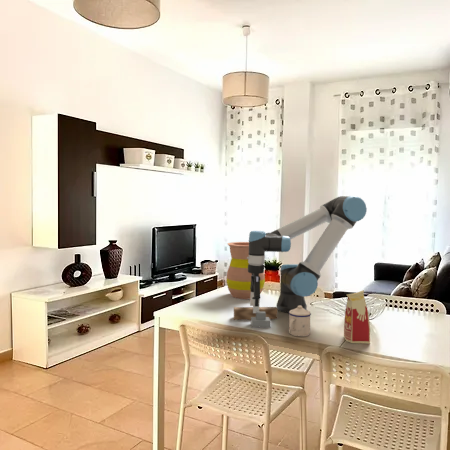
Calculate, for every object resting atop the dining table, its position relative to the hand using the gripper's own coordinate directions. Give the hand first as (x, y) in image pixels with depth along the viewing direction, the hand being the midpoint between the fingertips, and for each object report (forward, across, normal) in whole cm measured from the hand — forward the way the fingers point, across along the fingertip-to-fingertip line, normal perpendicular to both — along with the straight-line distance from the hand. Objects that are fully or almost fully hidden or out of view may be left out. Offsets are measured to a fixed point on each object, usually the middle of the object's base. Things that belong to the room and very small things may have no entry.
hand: (254, 309), depth 202 cm
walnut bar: (+4, 0, +1) cm, 5 cm away
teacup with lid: (+4, +24, +16) cm, 29 cm away
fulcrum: (+4, +12, +2) cm, 13 cm away
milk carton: (+4, +31, +38) cm, 49 cm away
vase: (+4, -46, 0) cm, 46 cm away
